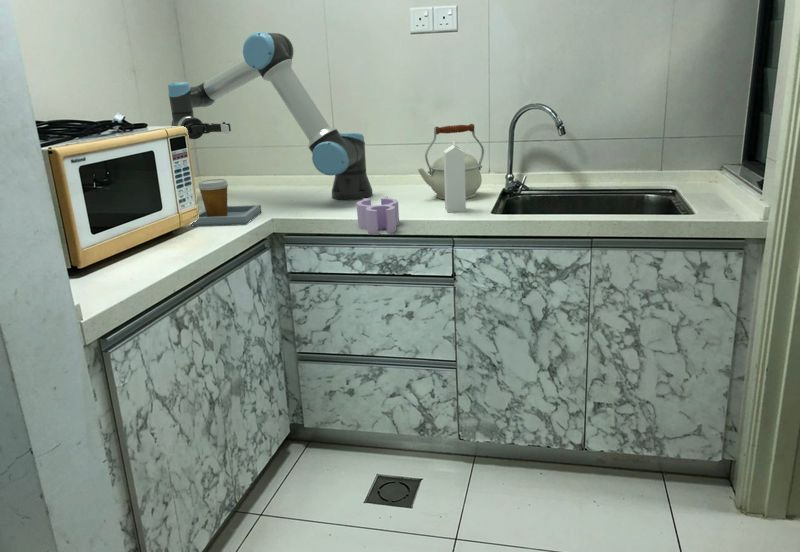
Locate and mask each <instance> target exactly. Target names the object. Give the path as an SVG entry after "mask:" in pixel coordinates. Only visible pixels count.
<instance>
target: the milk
mask: <svg viewBox="0 0 800 552" xmlns="http://www.w3.org/2000/svg"><path fill="white" fill-rule="evenodd" d="M451 142H452V145H451V146H449V147H447V148H446V149H444V150H443V155H444V183H445V200H444V209H445V210H446V213H462V212H463V213H465V212H466V211H467V206H466V205H467V203H466V200H467V199H466V195H465V154H466V153H465V151H464V150H463V149H461V148H460V147H459V148H460V149H459V148H457V147H458V146H457V147H455V146H456V142H455V140H452V141H451Z"/></svg>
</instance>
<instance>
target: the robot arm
mask: <svg viewBox="0 0 800 552" xmlns="http://www.w3.org/2000/svg"><path fill="white" fill-rule="evenodd" d="M242 46H243V47H242V48H243V49H242V55H243V60H241V61H238V62H237V63H235V64H234V65H232V66H230V67H229V68H227V69H225V70H223V71H222V72H220V73H218V74H216V75H214V76H213V77H211V78H209V79H207V80H206V81H204V82H201V84H199V85H196V86H190V83H189V82H187V81H180V82H179V81H178V82H169V83H168V85H167V88H168V98H169V104H170V110H171V118H172V121H171V124H170V127H171V126H184V127H186V128H187V130H188V135H189V138H188V139H189V140H190V141H192V140H198V139H200V138H201V137H202V136H203V135H204V134H205V135H206V134H211V133H224V134H230V132H231V131H232V129H231V127H232V126H231V123H226V122H225V121H222V123H213V122H212V123H210V124H209V122H204V123H203V121H202V120H201V119H200V118H198V117H194V109H195V108H206V107H209V106H212V105H213V104H215V102H216V100H218V99H221V98H222V97H223V96H225V95H227V94H230V93H232V92H233V91H235V90H237V89H238V88H240V87H242V86H244V85H246V84H248V83H249V82H251V81H253V80H255V79H257V78H260V77H261V78H262V79H263V80H264V81H266V82H270V83H271V85H272V86H273V87H274V89H275V91H276V92H277V94H278V95H279V97H280V99H281V100H282V102H283V103H284V105H285V107H287V109H288V110H289V112H290V114H291V115H292V117H293V118H294V119H295V121H296V122H297V125H299V127H300V129H301V130H302V131H303V133H304V135H305V136H306V138H307V140H308V150H310V152H311V154H312V156H311V160H312V164H313V166H314V168H315V169H316V170H317V171H318V172H320V173H321V174H323V175H325V176H334V180H333V183H332V187H331V198H332V199H336V200H360V199H361V200H362V199H364V198H371V197H372V196H373V187H372V185H371V182H370V179H369V178H368V175H367V163H366V147H365V146H366V142H365V137H364V135H363V133H359V132H357V133H356V132H346V133H345V132H343V133H341V132H339V131H338V129H337V128H335V127H331V126H330V125H329V123H328V122H327V120H326V119H325V117H324V116H323V114H322V112H321V111H320V110H319V108H318V107H317V105H316V104H315V101H314V100H313V99H312V98H311V95H310V94H309V93H308V91H307V90H306V88H305V87H304V85H303V84H302V82H301V81H300V79H299V77H298V76H297V74H296V73H295V71H294V70H293V68H292V64H293V57H294V52H295V51H294V46H293V44H292V41H291V40H290V39H289V38H288V37H287V36H286V35H284V34H281V33H279V32H278V33H277V32H265V31H257V32H253V33H251V34H250V35H249V36H247V38H246V39H245V41H244V42H243V45H242Z"/></svg>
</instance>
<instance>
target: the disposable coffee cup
mask: <svg viewBox="0 0 800 552" xmlns="http://www.w3.org/2000/svg"><path fill="white" fill-rule="evenodd" d="M228 186H229V183H228V181H227V179H225V178H216V179H213V178H212V179H205V180H202V181H199V182H198V186H197V187H198V189H199V191H200V194H201V198H202V199H201V200H202V201H203V202H202V203H203V206H204V210H206V214H207V217H215V216H227V206H228Z"/></svg>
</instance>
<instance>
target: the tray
mask: <svg viewBox="0 0 800 552" xmlns="http://www.w3.org/2000/svg"><path fill="white" fill-rule="evenodd" d="M198 213H199V219H198V220H197V221H196V222H193V223H192V224H190V226H191V225H193V226H192V227H209V226H210V227H211V226H212V225H219V226H231V225H230V224H246V225H248V224H249V223H250V222H251V221H253V220H254V219H255V218H256V217H258V216H259V215H260V214H261V213H262V205H261V204H252V205H249V204H247V205H246V204H243V205H227V216H215V217H207V214H206V210H205V209H203V210H201V211H199V212H198ZM259 213H260V214H259ZM258 214H259V215H258ZM257 215H258V216H257ZM255 216H256V217H255ZM254 217H255V218H254ZM253 218H254V219H253ZM252 219H253V220H252ZM250 220H251V221H250ZM249 221H250V222H249ZM248 222H249V223H248ZM247 223H248V224H247Z"/></svg>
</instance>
